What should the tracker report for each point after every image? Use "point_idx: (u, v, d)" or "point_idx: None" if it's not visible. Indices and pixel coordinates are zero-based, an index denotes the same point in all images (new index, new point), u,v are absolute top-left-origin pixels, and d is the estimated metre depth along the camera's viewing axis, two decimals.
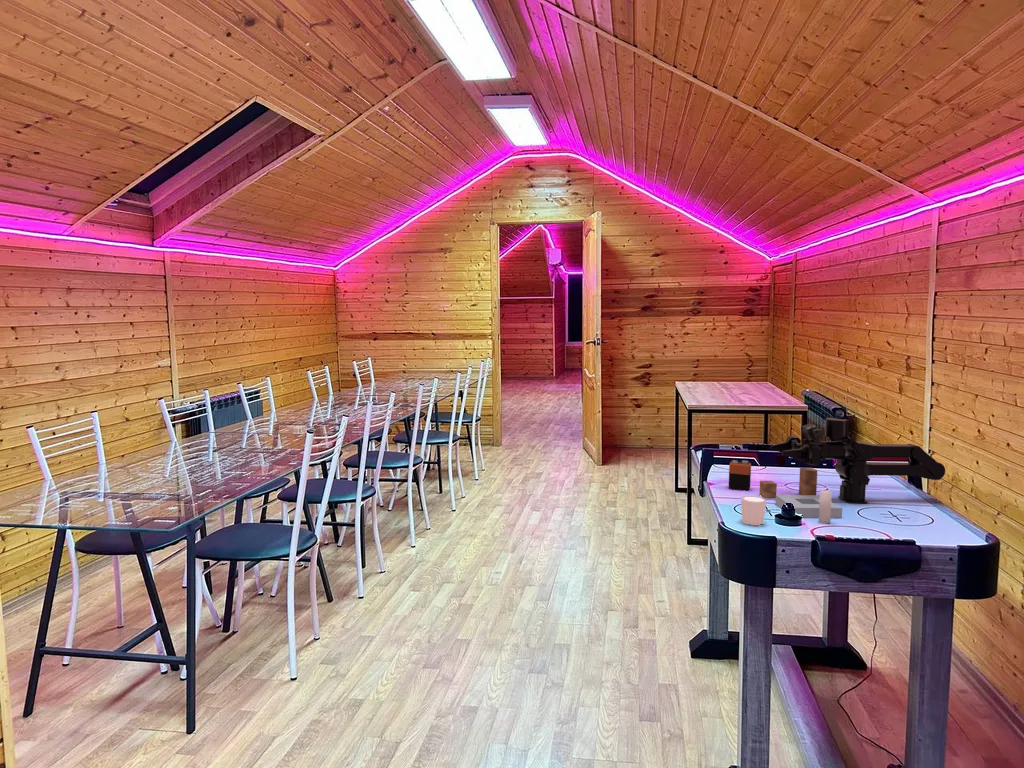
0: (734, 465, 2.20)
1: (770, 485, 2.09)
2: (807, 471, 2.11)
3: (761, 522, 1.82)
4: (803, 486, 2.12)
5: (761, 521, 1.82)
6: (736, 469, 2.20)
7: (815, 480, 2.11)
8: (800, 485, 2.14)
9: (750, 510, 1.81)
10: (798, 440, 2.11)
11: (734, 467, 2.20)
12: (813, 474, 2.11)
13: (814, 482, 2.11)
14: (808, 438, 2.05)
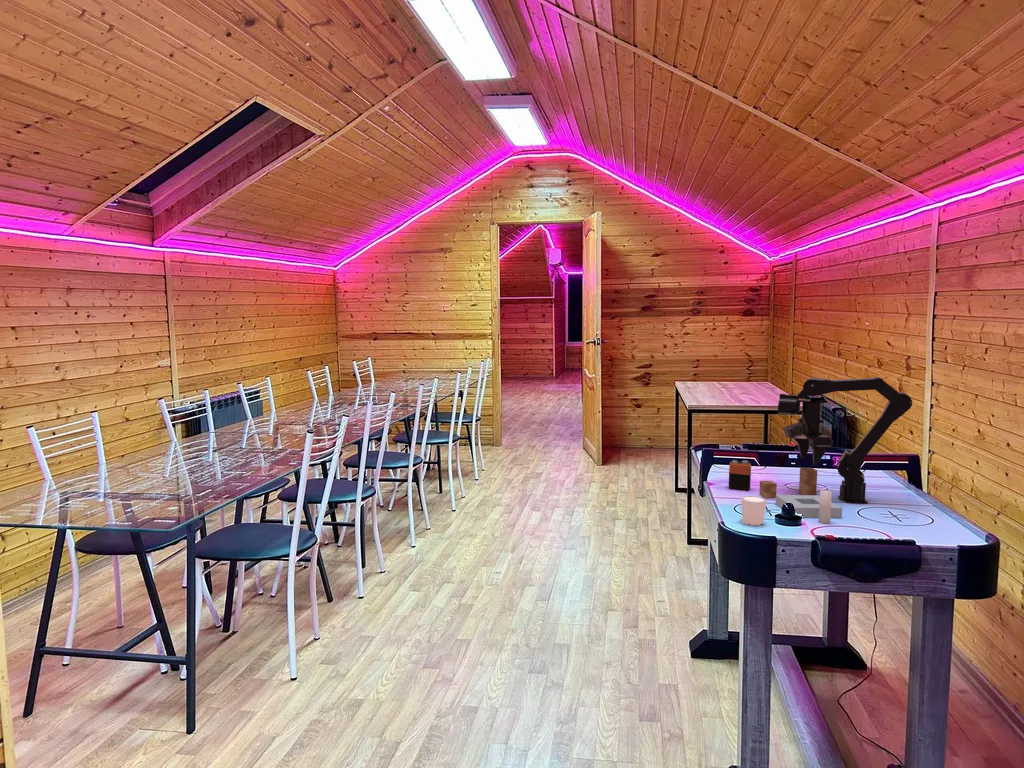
0: (734, 465, 2.20)
1: (770, 485, 2.09)
2: (807, 471, 2.11)
3: (761, 522, 1.82)
4: (803, 486, 2.12)
5: (761, 521, 1.82)
6: (736, 469, 2.20)
7: (815, 480, 2.11)
8: (800, 485, 2.14)
9: (750, 510, 1.81)
10: None
11: (734, 467, 2.20)
12: (813, 474, 2.11)
13: (814, 482, 2.11)
14: None
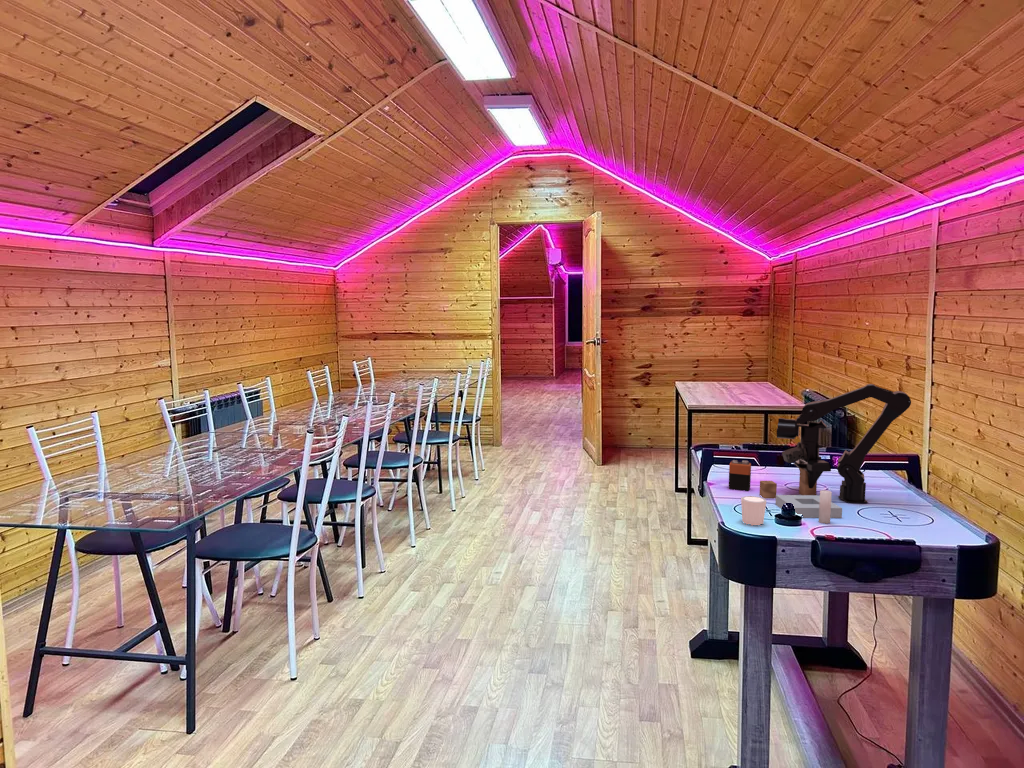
0: (734, 465, 2.20)
1: (770, 485, 2.09)
2: None
3: (761, 522, 1.82)
4: (803, 486, 2.12)
5: (761, 521, 1.82)
6: (736, 469, 2.20)
7: None
8: (800, 485, 2.14)
9: (750, 510, 1.81)
10: None
11: (734, 467, 2.20)
12: None
13: None
14: None
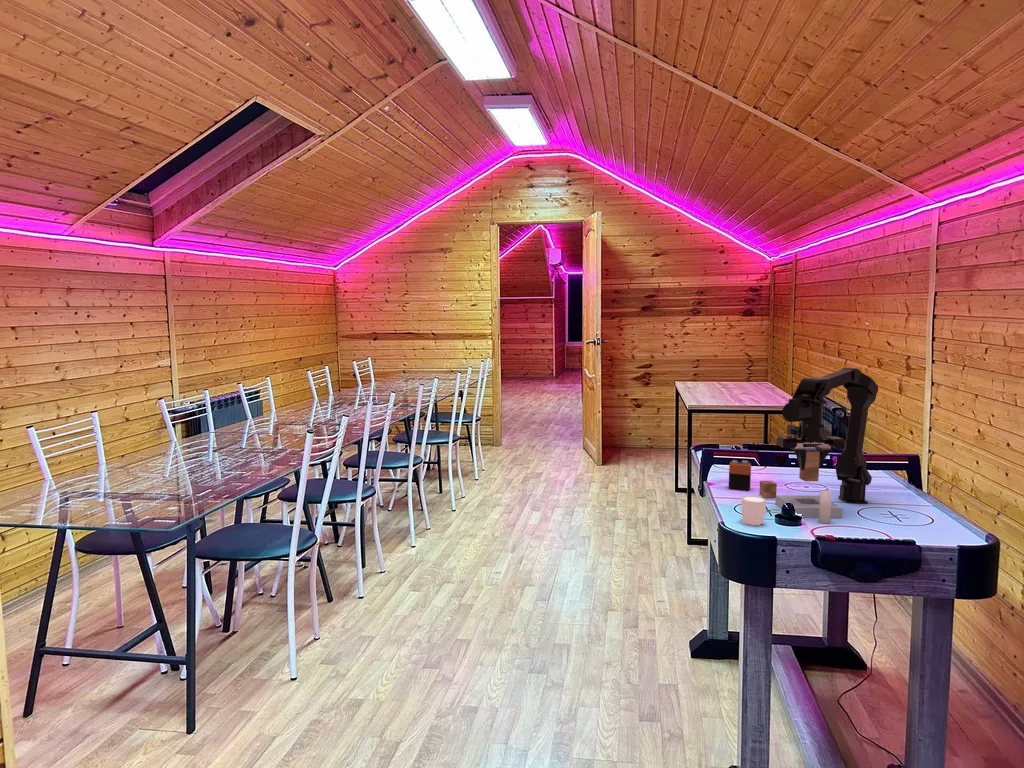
0: (734, 465, 2.20)
1: (770, 485, 2.09)
2: None
3: (761, 522, 1.82)
4: None
5: (761, 521, 1.82)
6: (736, 469, 2.20)
7: (805, 462, 1.93)
8: None
9: (750, 510, 1.81)
10: (825, 438, 1.96)
11: (734, 467, 2.20)
12: None
13: None
14: None
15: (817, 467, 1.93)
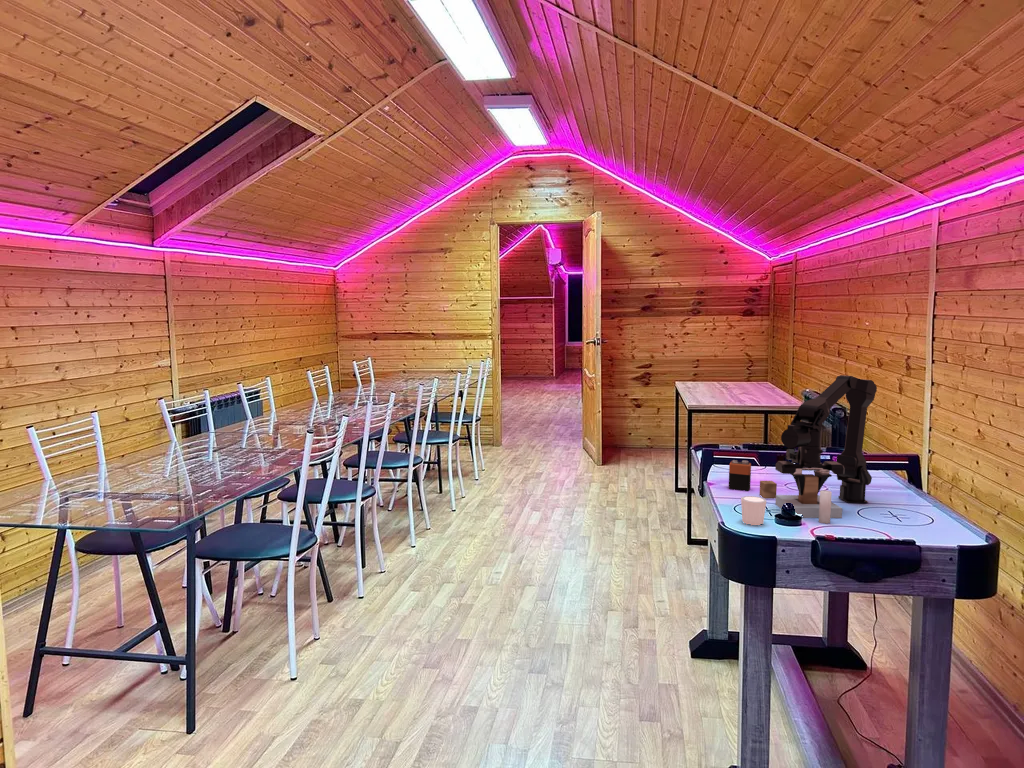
0: (734, 465, 2.20)
1: (770, 485, 2.09)
2: None
3: (761, 522, 1.82)
4: None
5: (761, 521, 1.82)
6: (736, 469, 2.20)
7: (804, 487, 1.94)
8: None
9: (750, 510, 1.81)
10: (824, 463, 1.97)
11: (734, 467, 2.20)
12: None
13: (803, 490, 1.94)
14: None
15: (816, 492, 1.93)
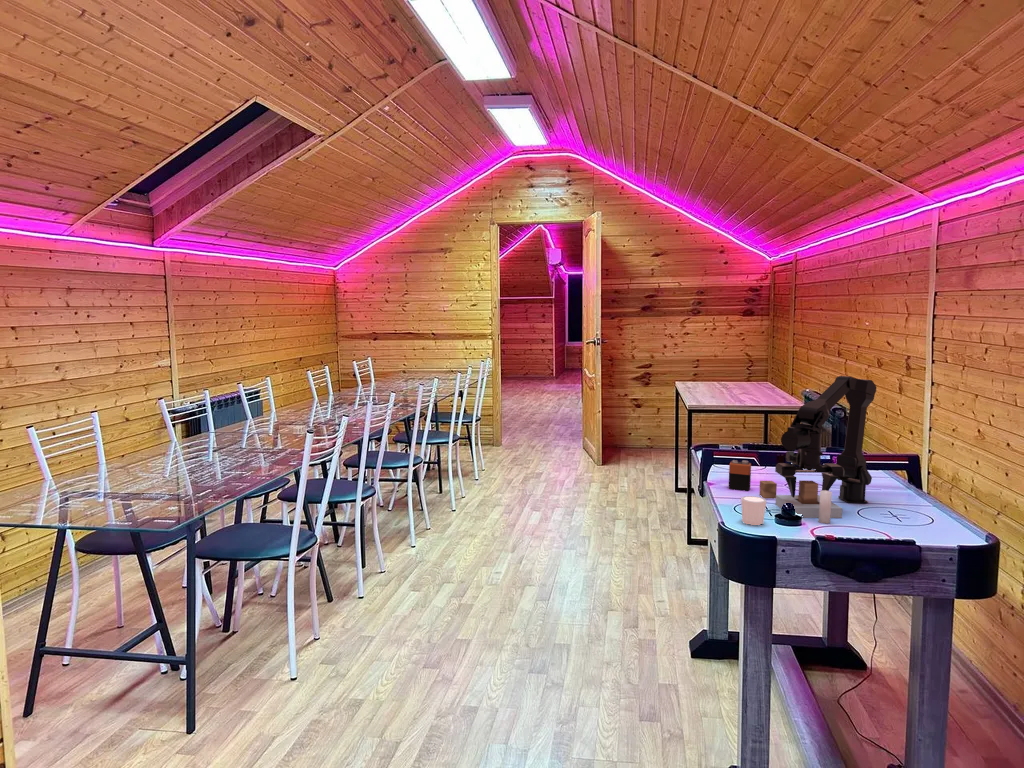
0: (734, 465, 2.20)
1: (770, 485, 2.09)
2: (800, 482, 1.96)
3: (761, 522, 1.82)
4: None
5: (761, 521, 1.82)
6: (736, 469, 2.20)
7: (803, 494, 1.94)
8: None
9: (750, 510, 1.81)
10: (824, 465, 1.97)
11: (734, 467, 2.20)
12: (802, 486, 1.95)
13: (803, 496, 1.94)
14: None
15: (816, 499, 1.93)
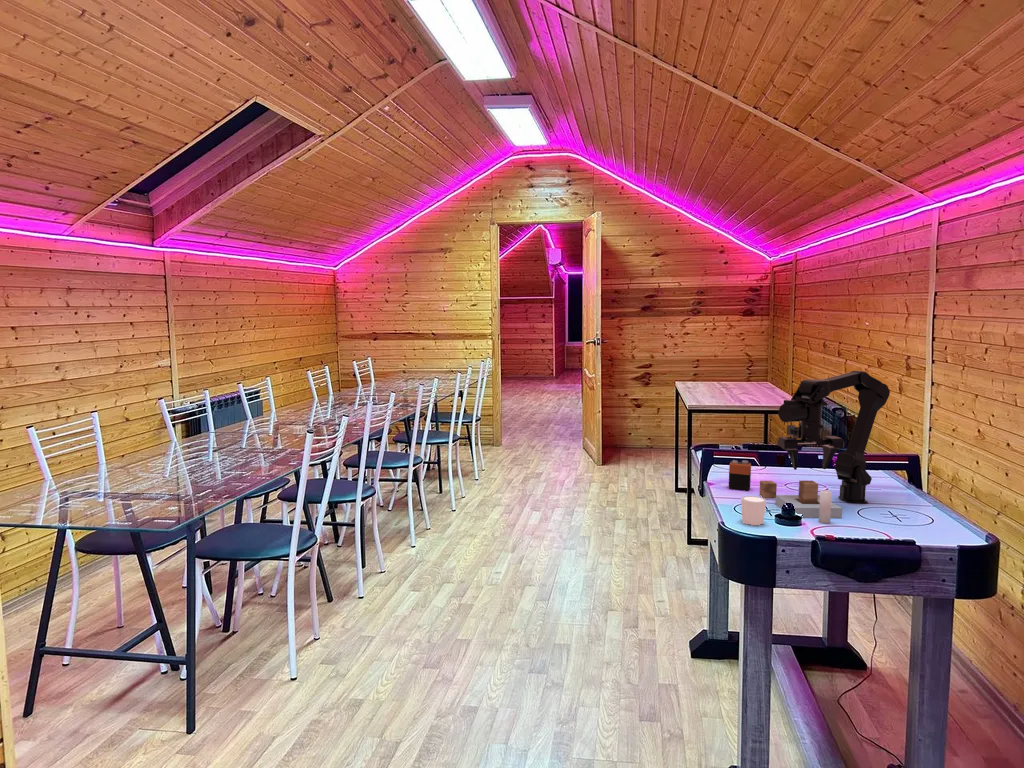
0: (734, 465, 2.20)
1: (770, 485, 2.09)
2: (800, 482, 1.96)
3: (761, 522, 1.82)
4: None
5: (761, 521, 1.82)
6: (736, 469, 2.20)
7: (803, 494, 1.94)
8: None
9: (750, 510, 1.81)
10: (824, 438, 2.02)
11: (734, 467, 2.20)
12: (802, 486, 1.95)
13: (803, 496, 1.94)
14: None
15: (816, 499, 1.94)
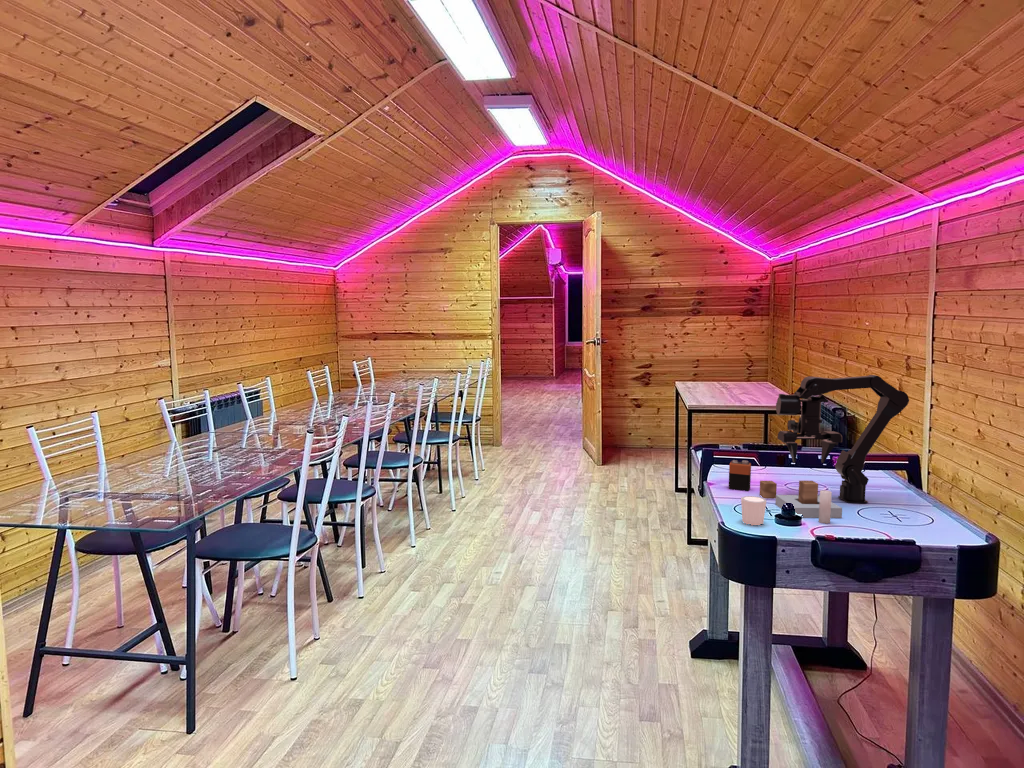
0: (734, 465, 2.20)
1: (770, 485, 2.09)
2: (800, 482, 1.96)
3: (761, 522, 1.82)
4: None
5: (761, 521, 1.82)
6: (736, 469, 2.20)
7: (803, 494, 1.94)
8: None
9: (750, 510, 1.81)
10: (823, 433, 2.10)
11: (734, 467, 2.20)
12: (802, 486, 1.95)
13: (803, 496, 1.94)
14: None
15: (816, 499, 1.94)
